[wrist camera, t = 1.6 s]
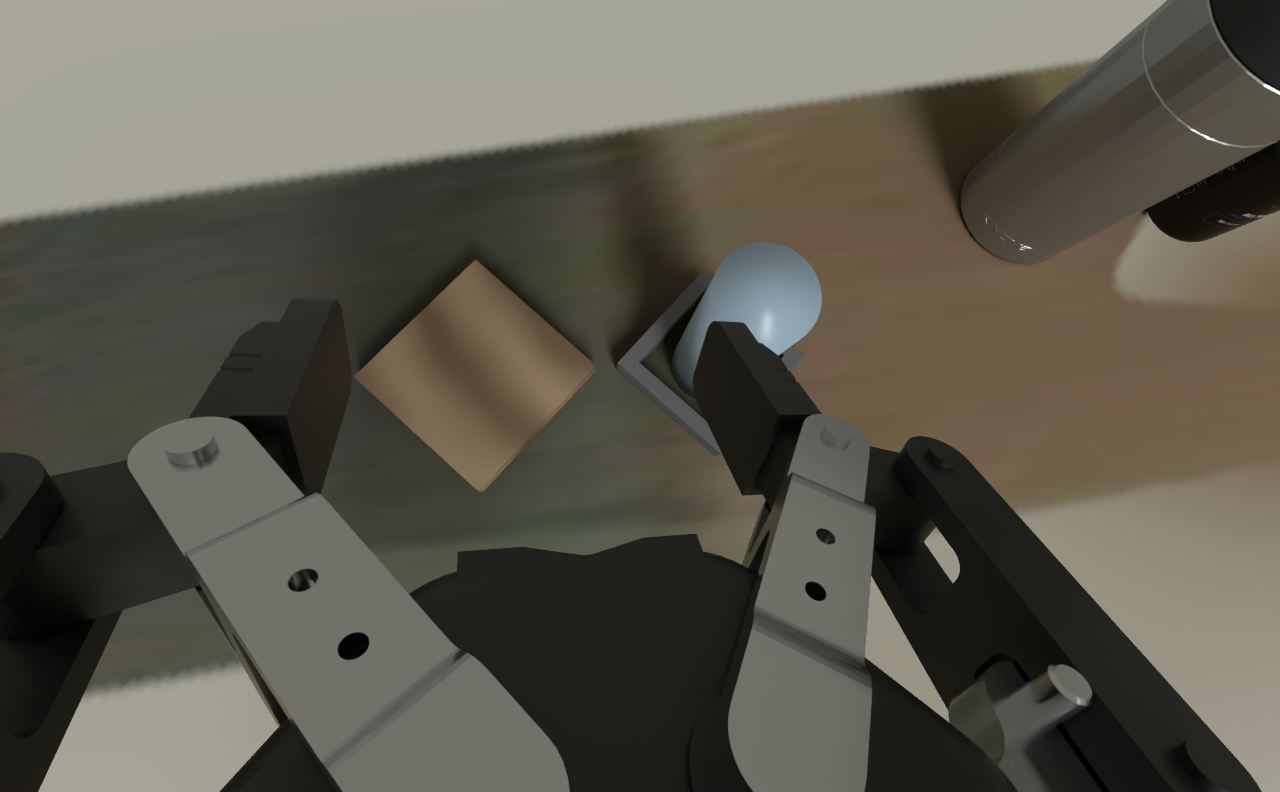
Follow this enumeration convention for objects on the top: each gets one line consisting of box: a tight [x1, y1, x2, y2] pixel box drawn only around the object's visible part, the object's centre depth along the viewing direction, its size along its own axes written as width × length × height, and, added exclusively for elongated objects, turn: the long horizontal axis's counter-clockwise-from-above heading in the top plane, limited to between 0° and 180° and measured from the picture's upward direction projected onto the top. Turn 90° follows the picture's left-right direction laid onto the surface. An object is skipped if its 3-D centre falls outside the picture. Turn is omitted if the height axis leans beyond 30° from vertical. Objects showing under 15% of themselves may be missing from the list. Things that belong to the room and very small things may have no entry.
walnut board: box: [354, 259, 596, 491], centre depth 36 cm, size 11×11×2 cm
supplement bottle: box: [1146, 140, 1280, 242], centre depth 37 cm, size 7×7×12 cm
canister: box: [671, 242, 822, 398], centre depth 31 cm, size 5×5×14 cm
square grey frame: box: [617, 269, 804, 456], centre depth 37 cm, size 9×9×2 cm
